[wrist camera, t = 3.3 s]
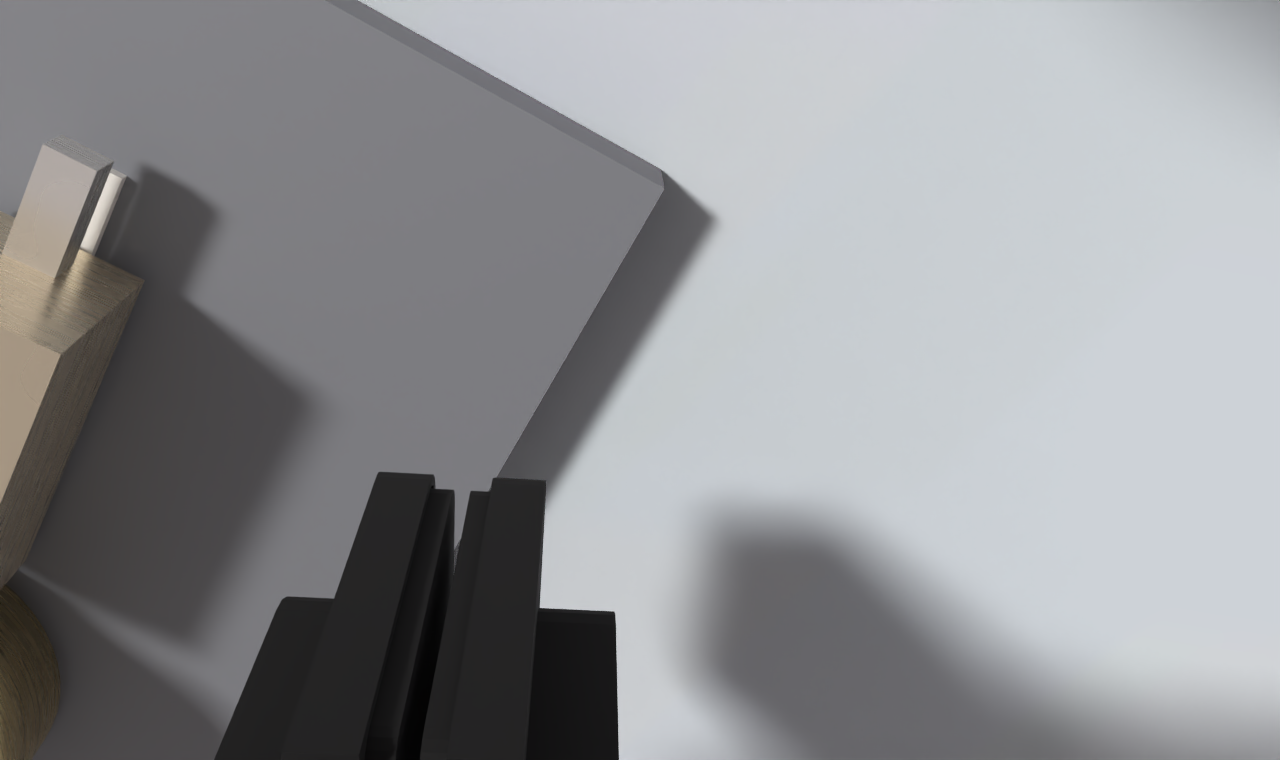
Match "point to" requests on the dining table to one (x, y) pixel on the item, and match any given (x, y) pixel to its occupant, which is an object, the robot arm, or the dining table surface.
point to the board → (283, 319)
